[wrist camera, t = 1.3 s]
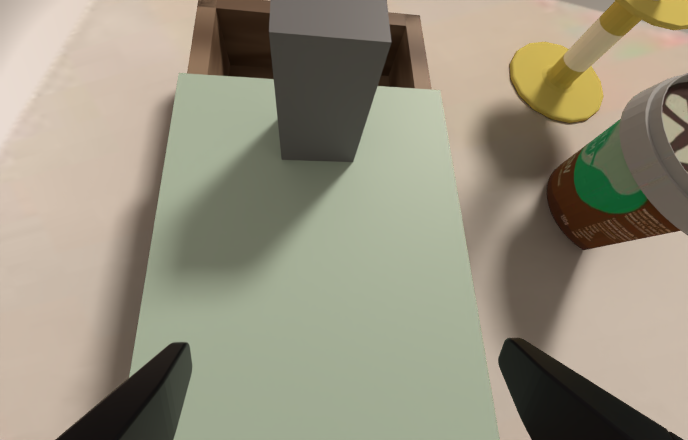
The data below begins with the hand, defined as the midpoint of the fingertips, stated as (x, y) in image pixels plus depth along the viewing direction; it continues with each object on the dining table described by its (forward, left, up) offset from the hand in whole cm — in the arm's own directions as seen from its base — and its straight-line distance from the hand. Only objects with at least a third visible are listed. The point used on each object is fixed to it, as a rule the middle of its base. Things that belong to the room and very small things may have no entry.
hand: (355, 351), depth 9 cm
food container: (+24, -7, -14) cm, 28 cm away
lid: (+3, +4, -7) cm, 9 cm away
